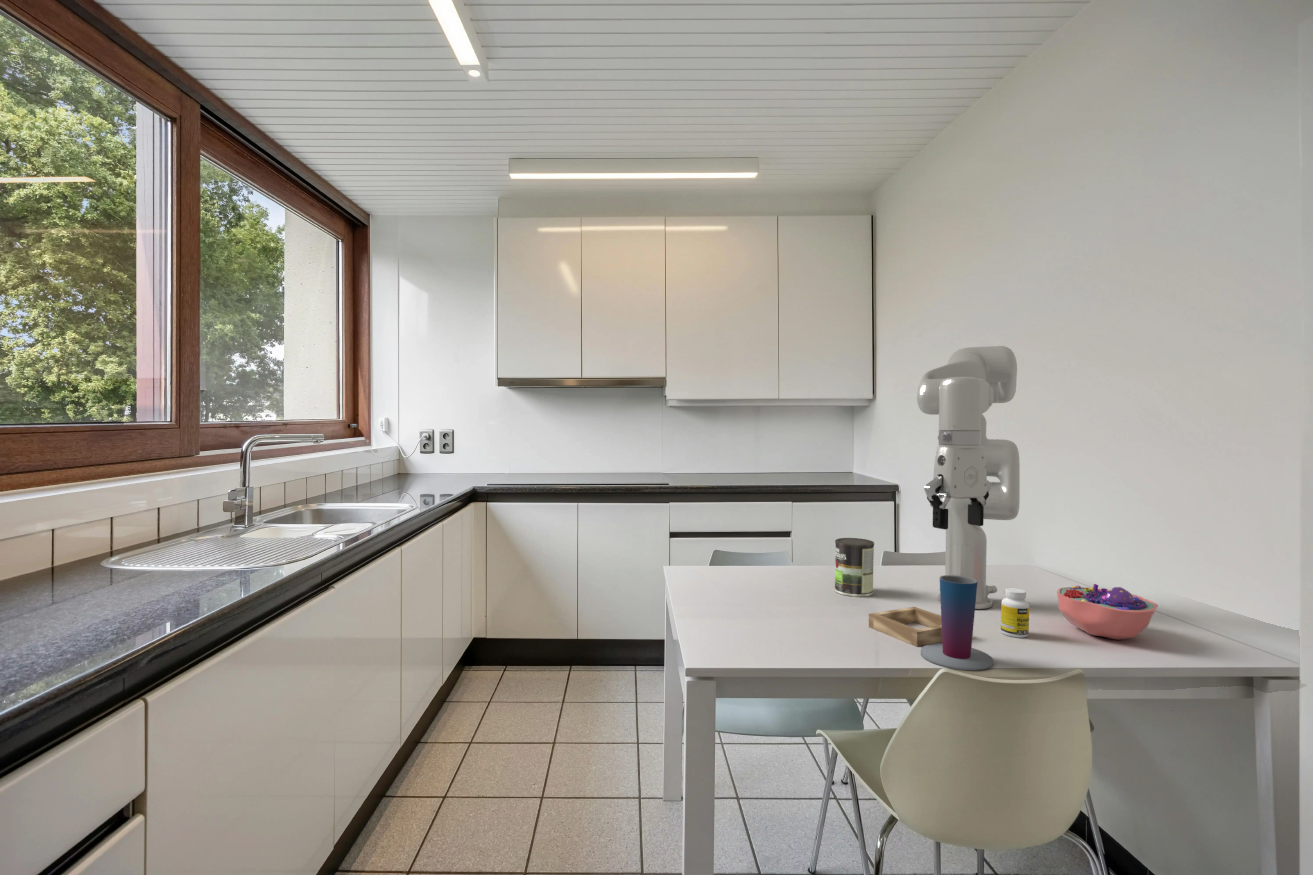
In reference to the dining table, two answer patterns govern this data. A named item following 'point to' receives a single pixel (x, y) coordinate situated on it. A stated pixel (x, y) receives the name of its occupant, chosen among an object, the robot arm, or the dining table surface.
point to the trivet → (973, 663)
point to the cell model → (1106, 611)
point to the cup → (957, 614)
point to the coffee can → (854, 567)
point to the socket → (895, 626)
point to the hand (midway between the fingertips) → (958, 526)
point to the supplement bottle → (1015, 613)
